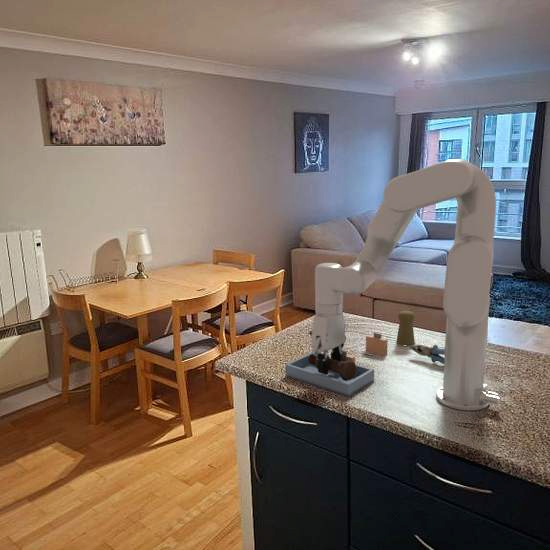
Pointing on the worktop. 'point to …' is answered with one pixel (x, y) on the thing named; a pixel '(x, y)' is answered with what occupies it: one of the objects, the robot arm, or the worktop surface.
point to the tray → (329, 377)
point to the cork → (406, 328)
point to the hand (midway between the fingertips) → (329, 369)
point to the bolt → (337, 367)
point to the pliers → (429, 352)
